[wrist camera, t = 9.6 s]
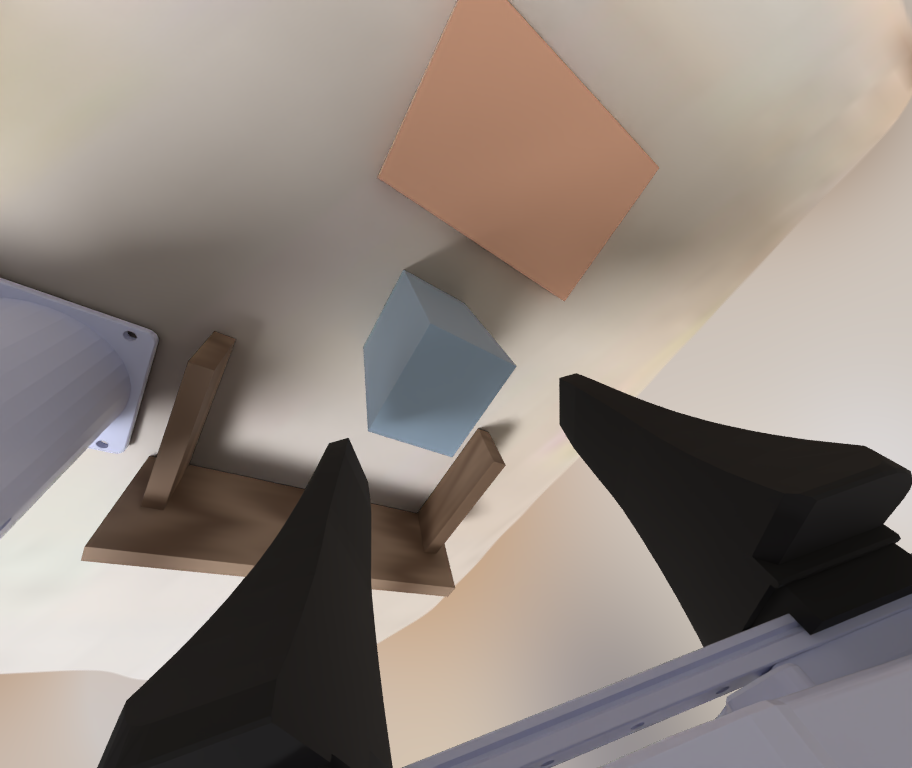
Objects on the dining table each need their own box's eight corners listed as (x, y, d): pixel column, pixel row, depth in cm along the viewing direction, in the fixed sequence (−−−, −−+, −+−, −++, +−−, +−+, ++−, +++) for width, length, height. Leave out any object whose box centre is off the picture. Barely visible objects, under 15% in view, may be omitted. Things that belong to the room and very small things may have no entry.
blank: (363, 346, 21) (367, 431, 14) (403, 269, 19) (430, 323, 12) (422, 371, 22) (452, 457, 16) (464, 303, 21) (516, 366, 14)
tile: (377, 177, 17) (378, 177, 16) (467, -24, 14) (475, -36, 13) (556, 296, 22) (564, 301, 21) (646, 167, 19) (659, 167, 18)
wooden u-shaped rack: (145, 468, 21) (81, 560, 16) (192, 322, 18) (129, 382, 13) (432, 525, 30) (447, 596, 25) (499, 436, 27) (532, 497, 22)
